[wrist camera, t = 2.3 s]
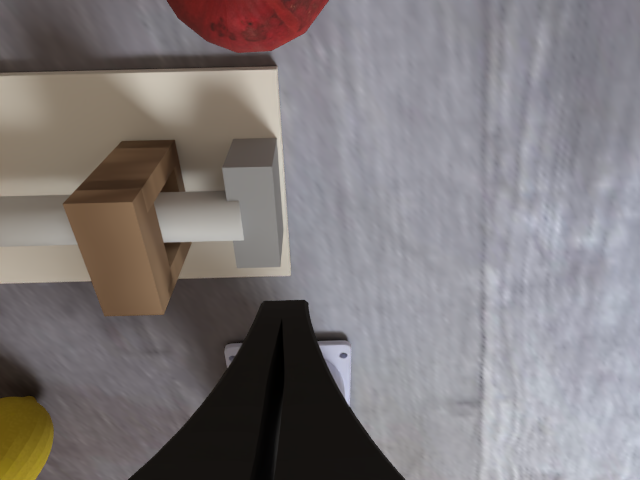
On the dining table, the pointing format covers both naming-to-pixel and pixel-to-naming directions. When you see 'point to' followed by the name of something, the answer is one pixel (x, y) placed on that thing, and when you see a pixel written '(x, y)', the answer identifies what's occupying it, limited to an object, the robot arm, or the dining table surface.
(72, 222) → the collar
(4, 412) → the lemon
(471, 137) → the dining table surface
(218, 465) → the robot arm
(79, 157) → the rail
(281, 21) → the red pomegranate
